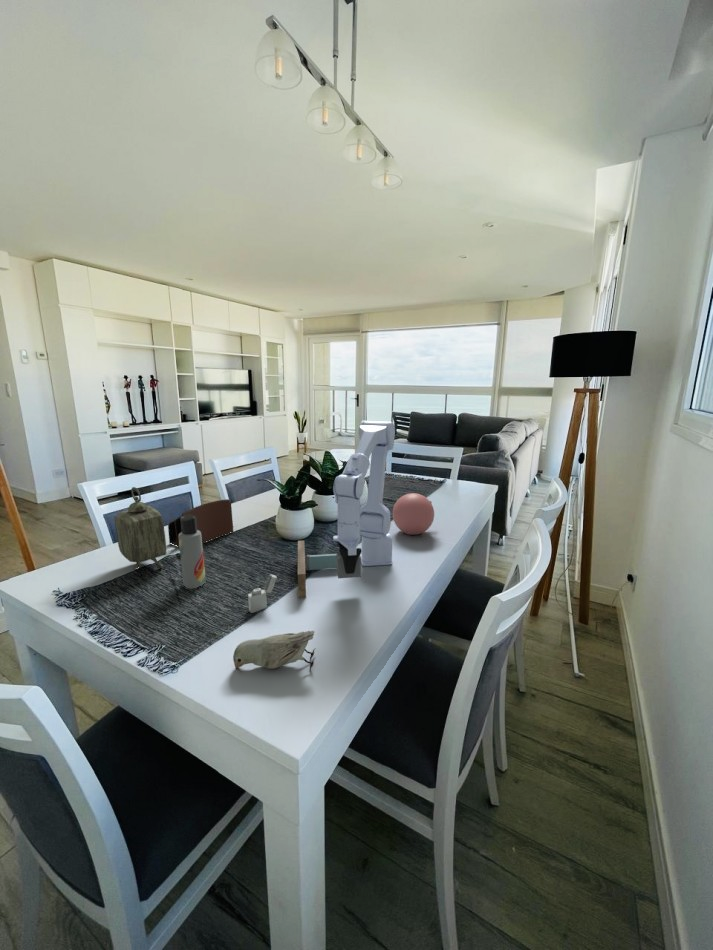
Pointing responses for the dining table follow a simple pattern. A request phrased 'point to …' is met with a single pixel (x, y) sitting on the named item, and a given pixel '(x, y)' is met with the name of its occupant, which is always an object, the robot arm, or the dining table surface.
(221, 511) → the letter holder
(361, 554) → the robot arm
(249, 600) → the lighter
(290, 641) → the decorative bird
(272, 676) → the dining table surface
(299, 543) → the wooden plank
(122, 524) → the tabletop clock
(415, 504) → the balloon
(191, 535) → the lotion bottle
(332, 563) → the door
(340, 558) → the block
